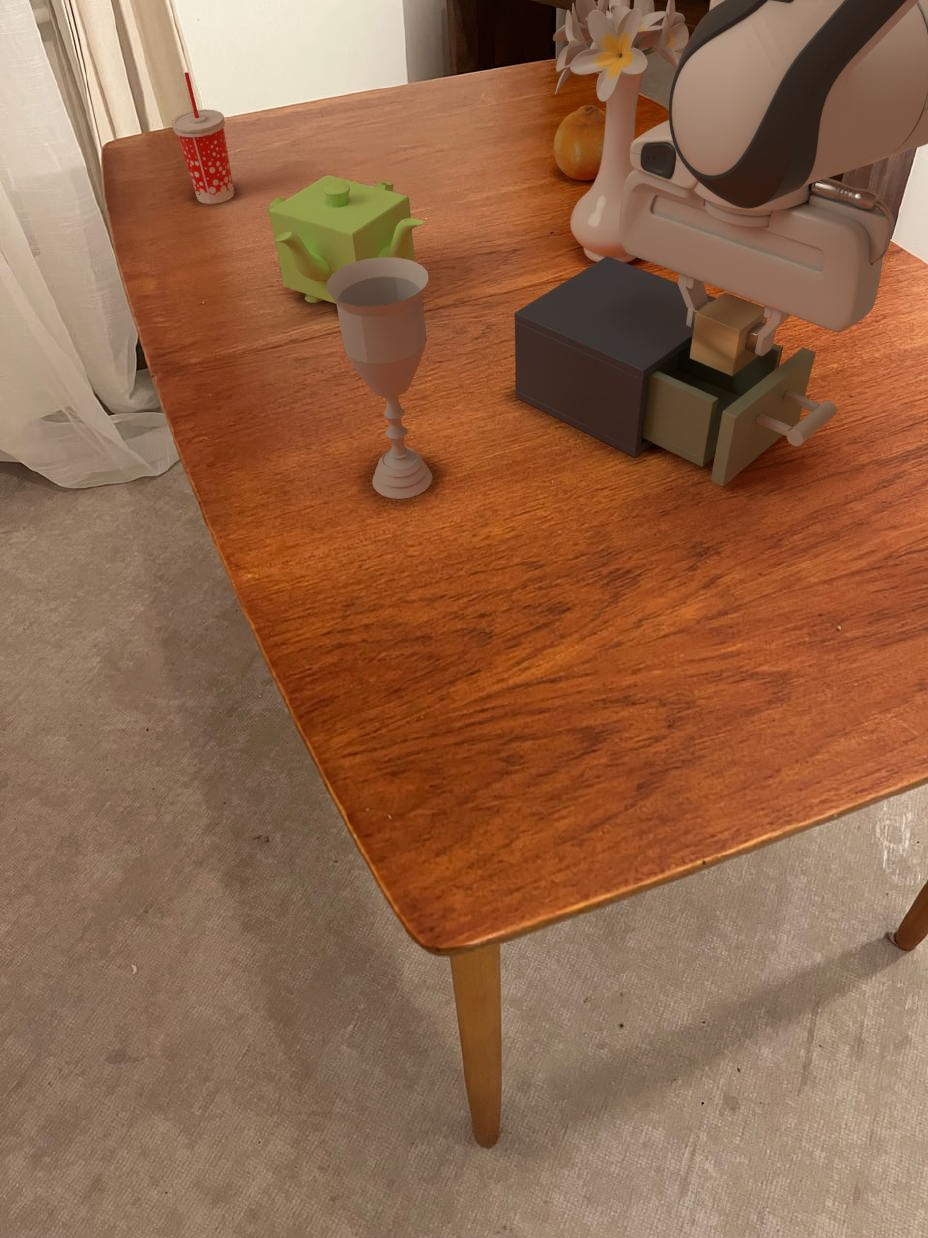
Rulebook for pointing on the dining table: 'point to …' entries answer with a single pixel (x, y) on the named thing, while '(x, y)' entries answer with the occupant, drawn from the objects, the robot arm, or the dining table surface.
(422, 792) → the dining table surface
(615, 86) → the flower vase
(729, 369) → the block
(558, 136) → the fruit
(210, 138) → the beverage cup
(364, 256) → the kettle
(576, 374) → the cabinet
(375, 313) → the chalice
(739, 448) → the drawer
